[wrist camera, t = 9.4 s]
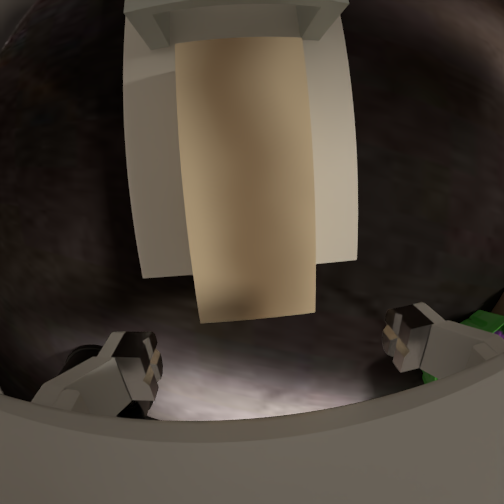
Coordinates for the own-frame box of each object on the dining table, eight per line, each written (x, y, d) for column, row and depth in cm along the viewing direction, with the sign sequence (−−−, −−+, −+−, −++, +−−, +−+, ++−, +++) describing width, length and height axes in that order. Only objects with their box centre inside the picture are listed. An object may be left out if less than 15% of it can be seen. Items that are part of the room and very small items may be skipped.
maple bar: (287, 62, 15) (302, 37, 11) (298, 283, 19) (315, 312, 15) (186, 68, 15) (174, 43, 11) (205, 291, 19) (200, 323, 15)
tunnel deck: (301, -81, 13) (322, -133, 5) (341, 247, 22) (396, 292, 14) (149, -74, 12) (131, -126, 4) (153, 263, 21) (115, 318, 13)
